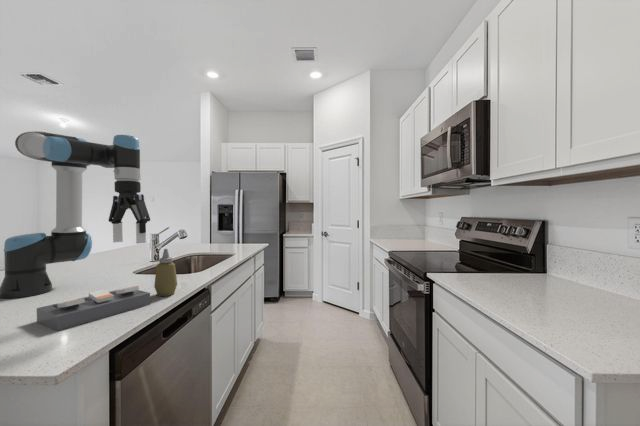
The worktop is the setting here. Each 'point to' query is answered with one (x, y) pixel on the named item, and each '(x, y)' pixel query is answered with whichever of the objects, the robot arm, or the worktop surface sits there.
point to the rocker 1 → (70, 303)
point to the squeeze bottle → (165, 276)
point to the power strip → (90, 309)
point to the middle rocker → (101, 296)
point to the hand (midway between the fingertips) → (129, 242)
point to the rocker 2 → (127, 289)
